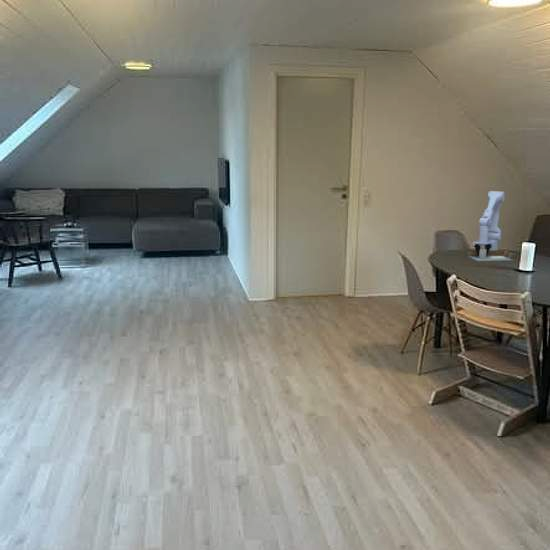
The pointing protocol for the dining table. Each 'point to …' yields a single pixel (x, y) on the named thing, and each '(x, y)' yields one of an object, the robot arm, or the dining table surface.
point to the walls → (495, 254)
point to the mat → (494, 258)
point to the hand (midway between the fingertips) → (481, 255)
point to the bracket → (484, 255)
